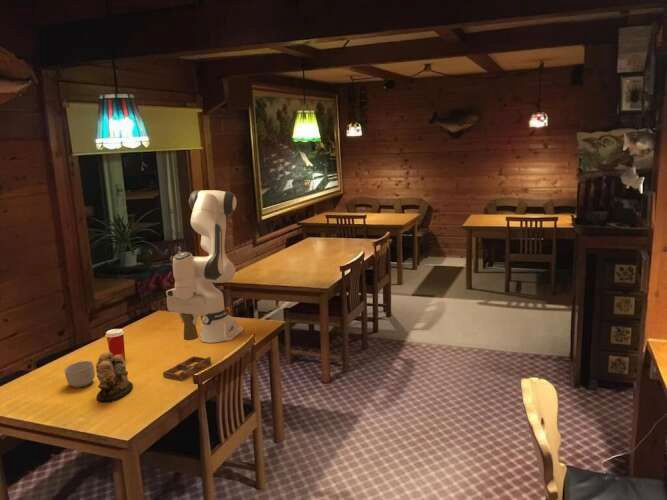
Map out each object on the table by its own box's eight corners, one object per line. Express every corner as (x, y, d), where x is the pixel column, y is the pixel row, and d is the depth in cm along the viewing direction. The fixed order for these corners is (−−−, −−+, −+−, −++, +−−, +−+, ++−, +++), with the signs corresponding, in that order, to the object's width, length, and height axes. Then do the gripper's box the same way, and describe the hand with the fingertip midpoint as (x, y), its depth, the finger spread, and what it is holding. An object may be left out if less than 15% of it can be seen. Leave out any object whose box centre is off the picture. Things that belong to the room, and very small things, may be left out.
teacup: (92, 388, 222) (89, 369, 220) (63, 391, 220) (60, 372, 219) (100, 374, 236) (97, 356, 234) (73, 377, 234) (70, 359, 232)
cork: (194, 340, 233) (191, 315, 231) (181, 340, 234) (178, 314, 232) (200, 335, 238) (198, 310, 236) (187, 334, 240) (185, 310, 238)
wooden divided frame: (193, 360, 245) (192, 351, 244) (211, 363, 241) (210, 354, 240) (163, 377, 229) (162, 367, 228) (181, 380, 225) (180, 371, 224)
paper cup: (115, 357, 253) (111, 328, 251) (131, 357, 252) (127, 328, 249) (105, 364, 246) (101, 334, 243) (121, 364, 244) (117, 334, 241)
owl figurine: (119, 404, 207) (113, 361, 204) (89, 405, 208) (82, 362, 205) (139, 382, 225) (133, 342, 222) (110, 383, 226) (104, 343, 222)
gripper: (210, 291, 230) (213, 323, 233) (173, 287, 240) (176, 318, 243) (200, 295, 225) (203, 328, 228) (162, 291, 234) (166, 322, 237)
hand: (189, 323), depth 235 cm, fingers closed on cork, 4 cm apart
